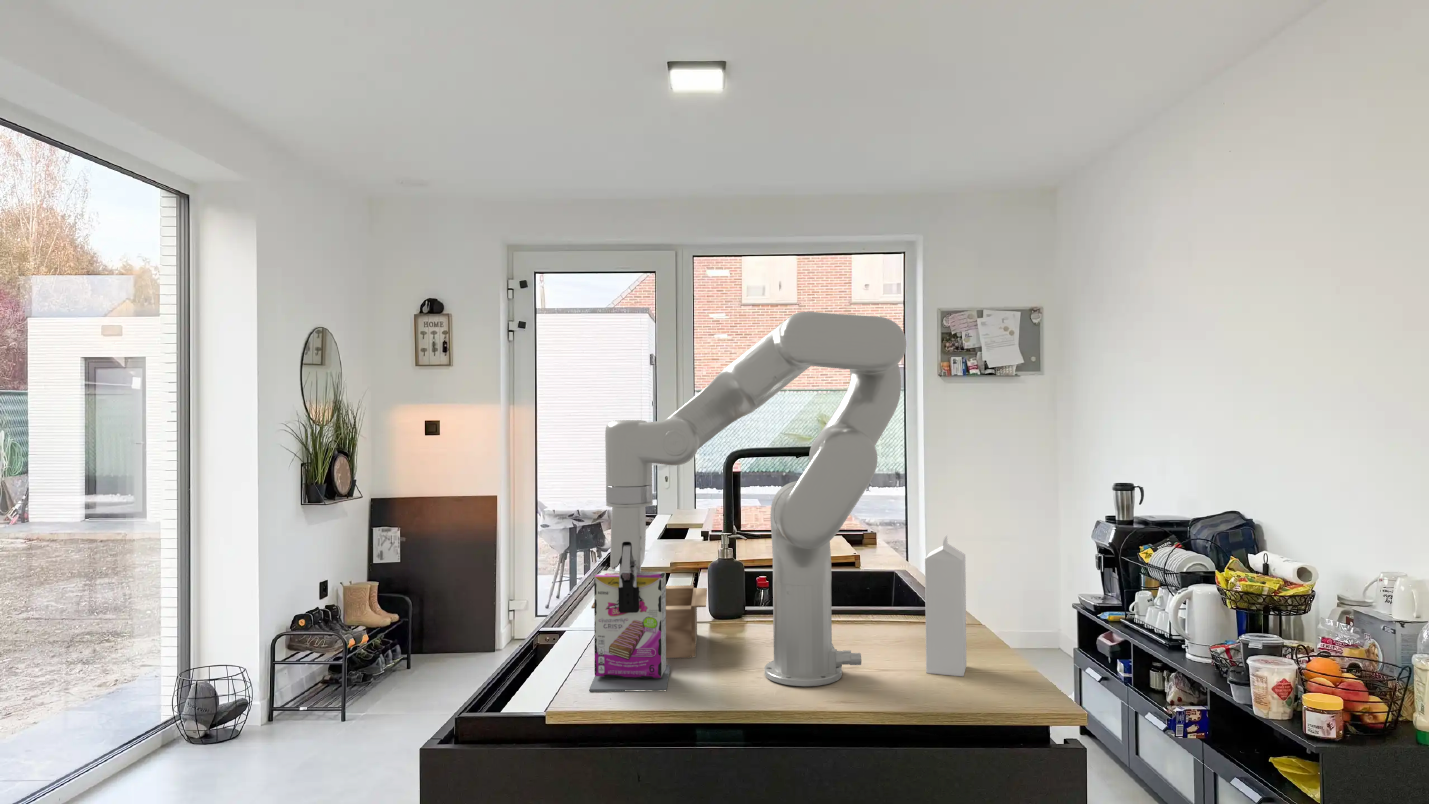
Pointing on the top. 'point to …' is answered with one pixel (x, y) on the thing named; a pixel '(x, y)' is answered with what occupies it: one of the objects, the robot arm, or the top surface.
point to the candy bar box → (630, 627)
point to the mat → (629, 683)
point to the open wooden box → (682, 619)
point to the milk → (945, 611)
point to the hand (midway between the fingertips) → (630, 606)
